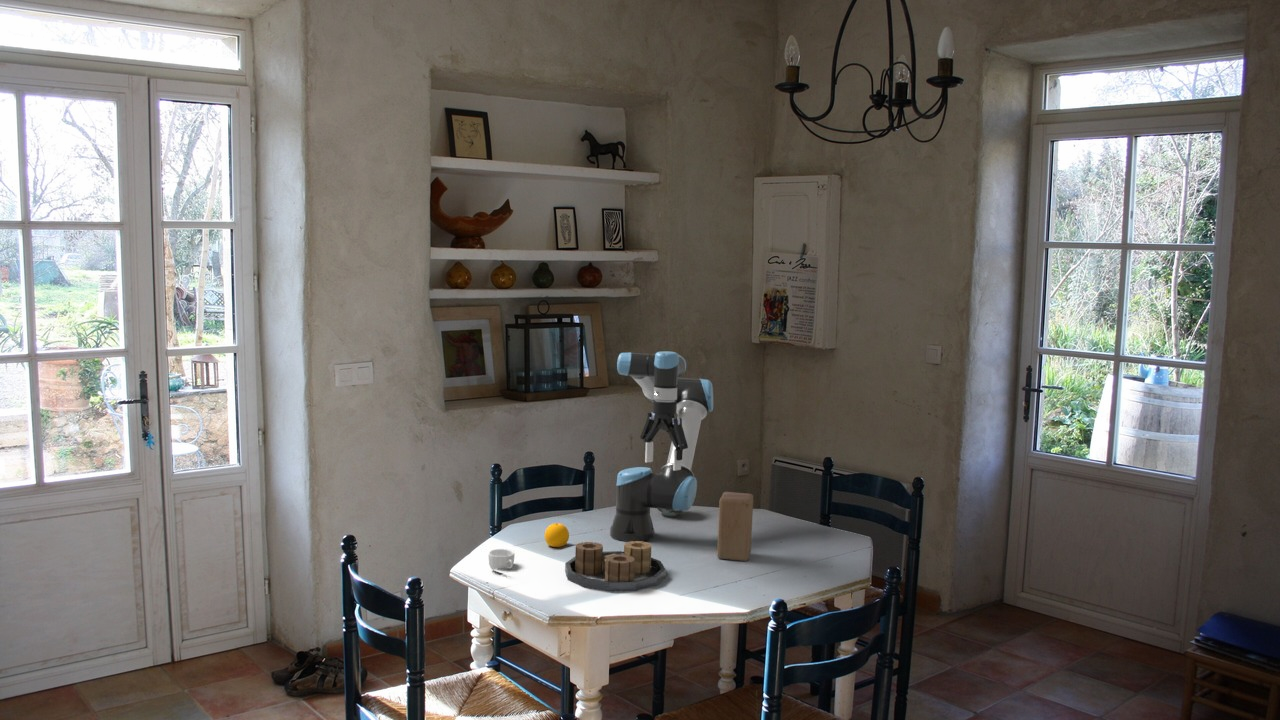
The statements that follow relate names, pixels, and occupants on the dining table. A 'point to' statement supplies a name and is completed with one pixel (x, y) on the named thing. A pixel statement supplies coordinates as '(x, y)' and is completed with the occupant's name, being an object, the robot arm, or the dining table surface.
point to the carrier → (599, 581)
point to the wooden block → (735, 526)
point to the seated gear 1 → (588, 558)
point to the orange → (556, 535)
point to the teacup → (501, 559)
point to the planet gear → (639, 555)
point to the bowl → (669, 512)
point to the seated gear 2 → (619, 568)
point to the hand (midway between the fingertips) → (662, 466)
